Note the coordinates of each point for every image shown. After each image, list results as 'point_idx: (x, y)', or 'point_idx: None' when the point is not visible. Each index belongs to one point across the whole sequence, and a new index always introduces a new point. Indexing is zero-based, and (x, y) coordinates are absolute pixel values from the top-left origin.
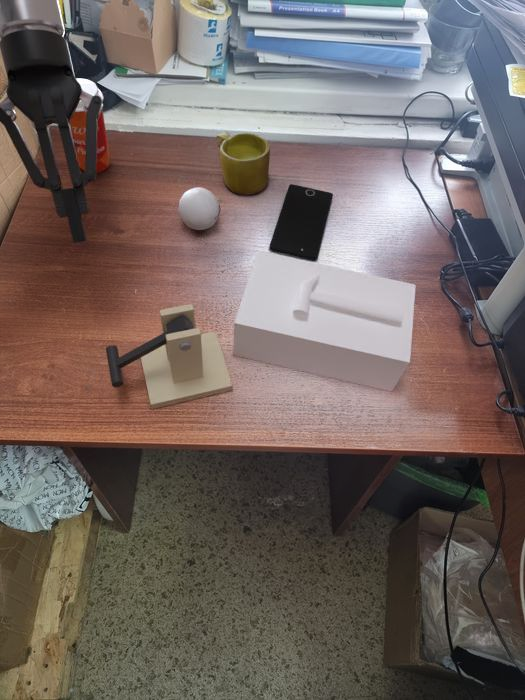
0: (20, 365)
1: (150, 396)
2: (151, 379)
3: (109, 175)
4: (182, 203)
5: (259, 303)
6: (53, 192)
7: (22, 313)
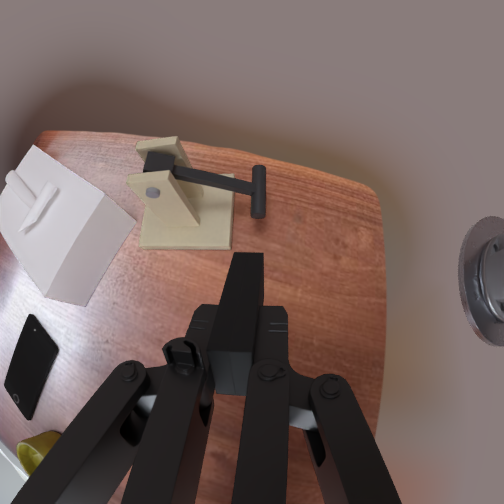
0: (370, 267)
1: None
2: (225, 200)
3: None
4: None
5: (73, 215)
6: (282, 361)
7: (366, 346)
